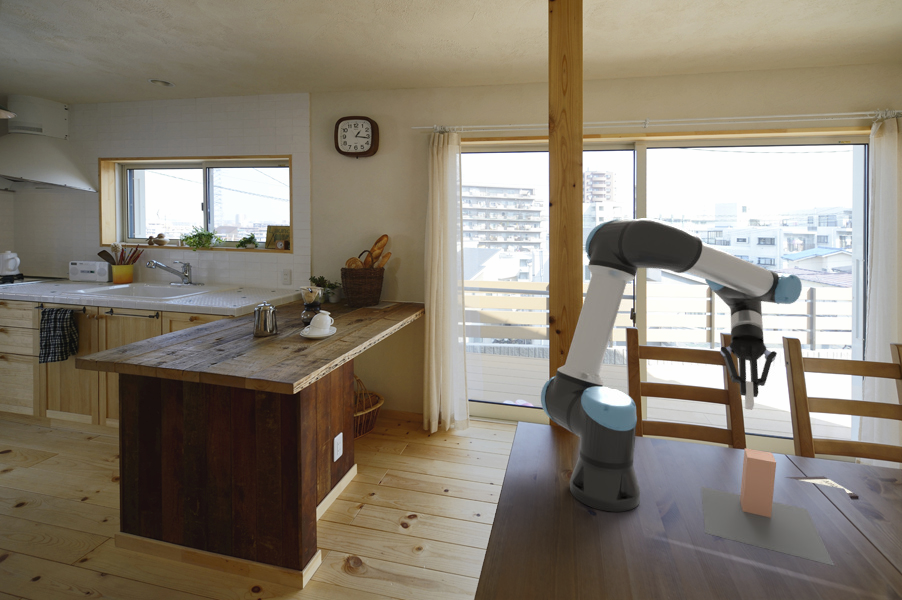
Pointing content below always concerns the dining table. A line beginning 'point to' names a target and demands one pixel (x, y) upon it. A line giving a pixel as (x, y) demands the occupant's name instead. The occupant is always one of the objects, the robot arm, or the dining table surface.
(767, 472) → the block
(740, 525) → the mat
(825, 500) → the dining table surface
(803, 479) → the chocolate bar
